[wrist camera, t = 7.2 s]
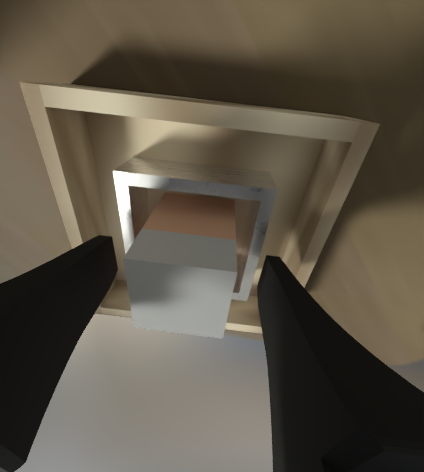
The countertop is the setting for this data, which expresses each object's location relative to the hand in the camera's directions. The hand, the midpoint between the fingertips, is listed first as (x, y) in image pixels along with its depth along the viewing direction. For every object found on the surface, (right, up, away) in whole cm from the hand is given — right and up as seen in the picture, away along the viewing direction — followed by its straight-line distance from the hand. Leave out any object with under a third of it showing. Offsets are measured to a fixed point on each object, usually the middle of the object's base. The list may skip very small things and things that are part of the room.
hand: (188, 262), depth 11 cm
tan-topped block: (0, +2, +3) cm, 4 cm away
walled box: (0, +2, +3) cm, 4 cm away
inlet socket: (0, +2, +3) cm, 4 cm away
